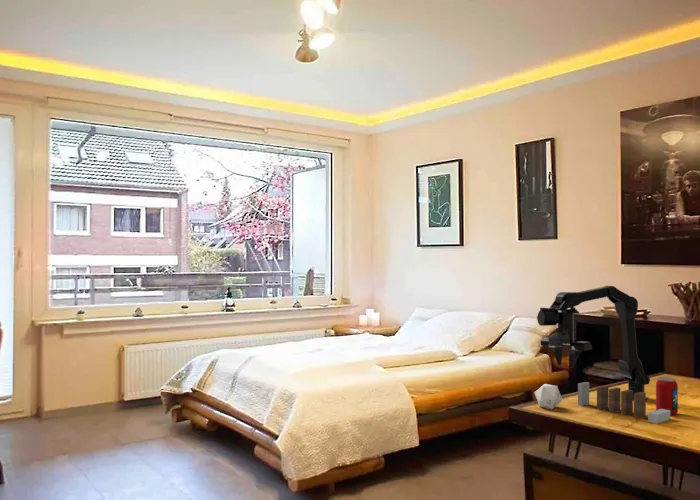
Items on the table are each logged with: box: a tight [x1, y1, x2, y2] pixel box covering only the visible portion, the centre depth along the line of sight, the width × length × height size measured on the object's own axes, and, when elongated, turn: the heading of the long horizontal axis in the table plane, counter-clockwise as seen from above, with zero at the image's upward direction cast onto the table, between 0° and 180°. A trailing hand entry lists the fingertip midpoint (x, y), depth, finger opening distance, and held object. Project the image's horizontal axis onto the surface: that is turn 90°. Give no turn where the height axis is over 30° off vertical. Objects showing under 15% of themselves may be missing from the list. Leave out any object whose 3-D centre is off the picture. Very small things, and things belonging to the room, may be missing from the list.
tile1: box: [596, 385, 610, 411], centre depth 219 cm, size 2×5×8 cm, turn 128°
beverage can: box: [655, 377, 679, 416], centre depth 213 cm, size 7×7×12 cm
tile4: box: [633, 392, 647, 419], centre depth 209 cm, size 2×5×8 cm, turn 128°
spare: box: [577, 381, 590, 407], centre depth 225 cm, size 2×5×8 cm, turn 128°
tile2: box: [608, 386, 622, 413], centre depth 216 cm, size 2×5×8 cm, turn 128°
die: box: [533, 383, 563, 410], centre depth 221 cm, size 8×9×10 cm
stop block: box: [647, 409, 671, 425], centre depth 203 cm, size 9×3×3 cm, turn 128°
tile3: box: [620, 389, 634, 416], centre depth 212 cm, size 2×5×8 cm, turn 128°
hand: (565, 366), depth 231 cm, fingers open, 5 cm apart
